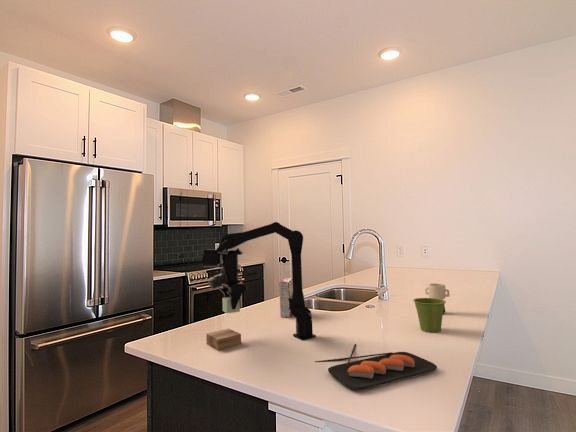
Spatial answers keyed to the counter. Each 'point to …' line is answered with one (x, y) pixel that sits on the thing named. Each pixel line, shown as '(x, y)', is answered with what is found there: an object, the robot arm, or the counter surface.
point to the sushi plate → (379, 369)
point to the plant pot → (430, 313)
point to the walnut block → (223, 339)
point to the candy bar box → (285, 296)
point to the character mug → (437, 292)
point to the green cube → (229, 305)
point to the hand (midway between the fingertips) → (231, 307)
